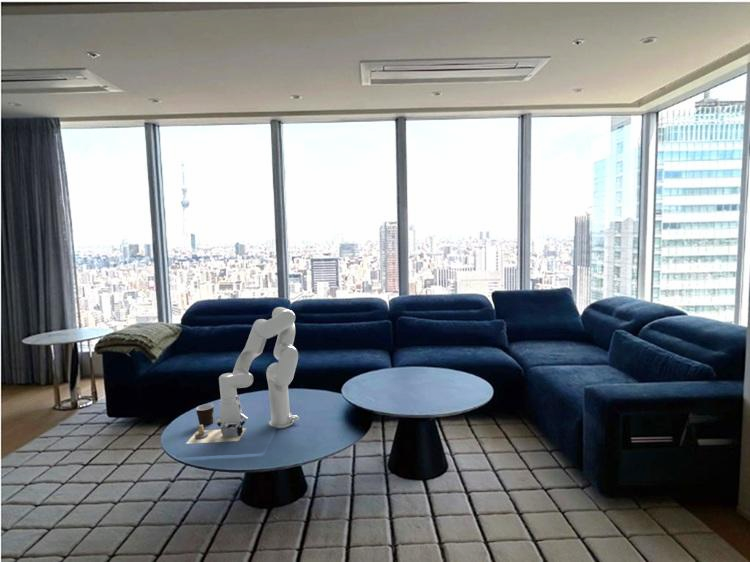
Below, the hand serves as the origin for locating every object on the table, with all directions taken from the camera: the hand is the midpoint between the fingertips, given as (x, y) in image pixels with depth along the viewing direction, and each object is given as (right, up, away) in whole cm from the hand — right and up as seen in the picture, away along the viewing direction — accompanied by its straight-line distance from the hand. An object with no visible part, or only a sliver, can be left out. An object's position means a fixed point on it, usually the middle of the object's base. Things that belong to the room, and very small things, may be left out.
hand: (232, 434), depth 223 cm
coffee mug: (-18, -1, +17) cm, 25 cm away
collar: (0, 0, 0) cm, 0 cm away
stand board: (-7, -2, 0) cm, 8 cm away
